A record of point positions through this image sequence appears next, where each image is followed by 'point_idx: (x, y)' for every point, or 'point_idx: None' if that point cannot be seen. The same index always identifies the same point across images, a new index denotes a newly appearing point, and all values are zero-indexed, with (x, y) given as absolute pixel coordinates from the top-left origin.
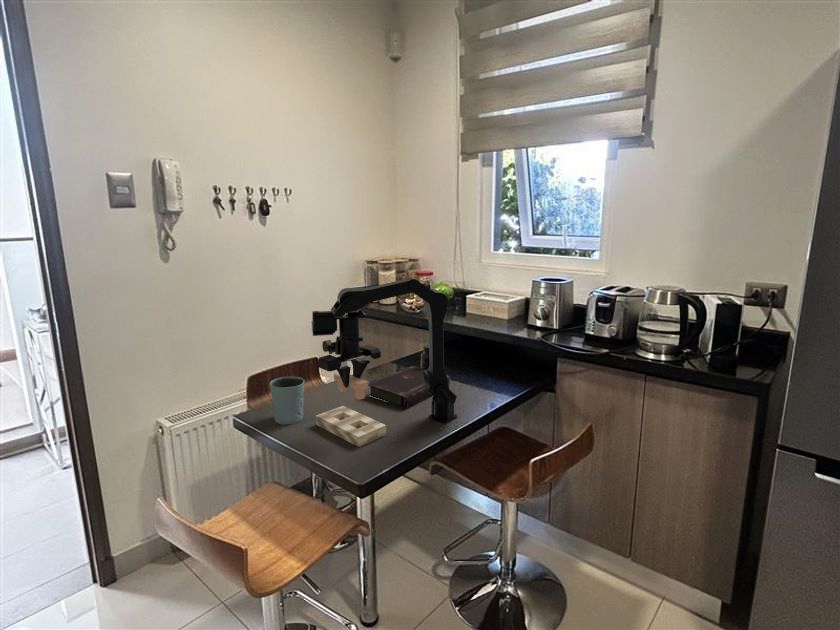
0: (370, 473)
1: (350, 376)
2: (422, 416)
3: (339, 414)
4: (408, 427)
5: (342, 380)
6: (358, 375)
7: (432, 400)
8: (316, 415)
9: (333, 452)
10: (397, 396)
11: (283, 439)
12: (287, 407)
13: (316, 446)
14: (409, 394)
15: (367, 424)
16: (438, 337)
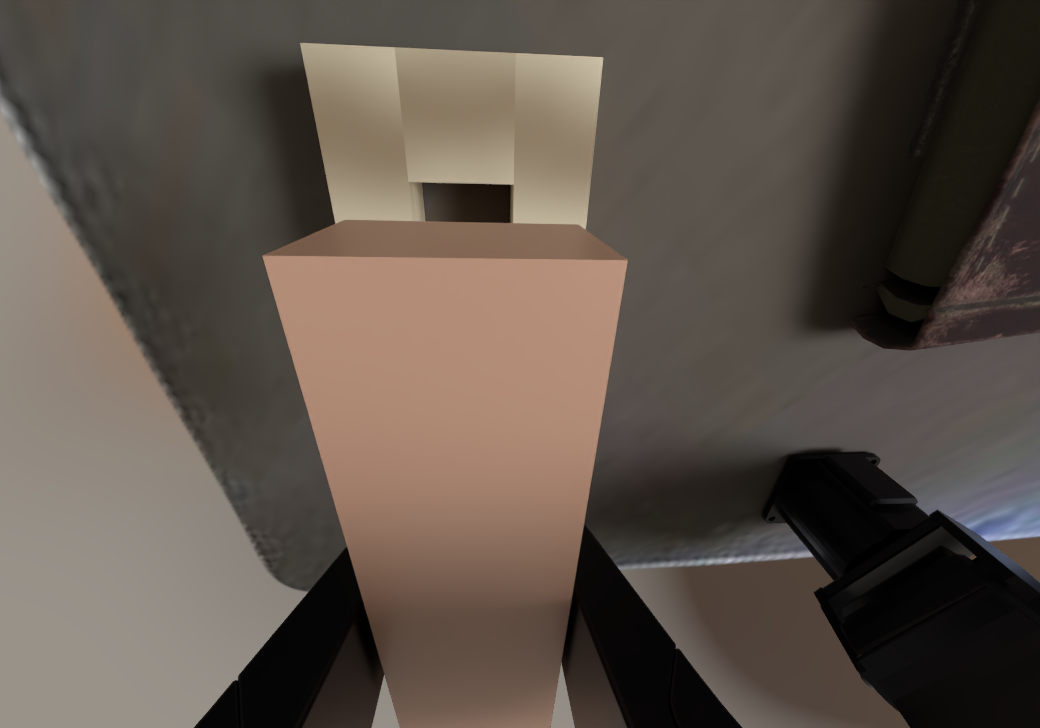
0: None
1: (511, 606)
2: (789, 431)
3: (477, 183)
4: (662, 460)
5: (310, 607)
6: (575, 722)
7: (873, 517)
8: (304, 45)
9: (283, 422)
10: (950, 256)
11: (27, 83)
12: None
13: (227, 328)
14: (973, 334)
15: None
16: None
